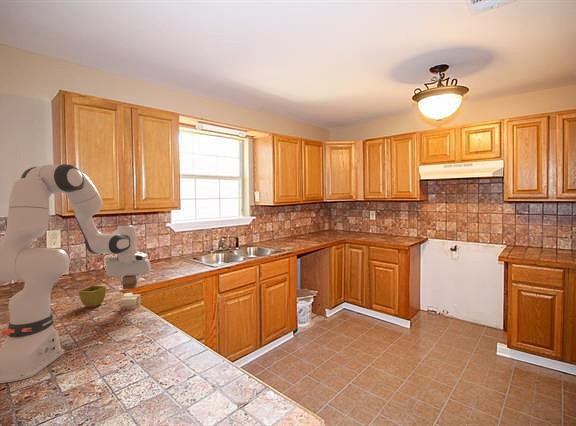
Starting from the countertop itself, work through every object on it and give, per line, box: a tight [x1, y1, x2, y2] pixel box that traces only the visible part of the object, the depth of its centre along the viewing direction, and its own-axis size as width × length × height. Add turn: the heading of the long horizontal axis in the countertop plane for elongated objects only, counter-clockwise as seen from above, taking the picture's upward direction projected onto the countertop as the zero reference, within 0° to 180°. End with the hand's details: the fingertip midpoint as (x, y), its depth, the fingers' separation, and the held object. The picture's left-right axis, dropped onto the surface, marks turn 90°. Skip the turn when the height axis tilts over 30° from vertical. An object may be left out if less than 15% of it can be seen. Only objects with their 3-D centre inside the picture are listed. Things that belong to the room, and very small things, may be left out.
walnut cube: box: [121, 275, 138, 290], centre depth 155 cm, size 5×5×6 cm
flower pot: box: [78, 285, 107, 308], centre depth 157 cm, size 9×9×9 cm
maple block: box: [119, 293, 142, 310], centre depth 155 cm, size 7×7×5 cm
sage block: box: [123, 292, 133, 297], centre depth 162 cm, size 4×4×4 cm
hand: (129, 283), depth 155 cm, fingers closed on walnut cube, 5 cm apart
